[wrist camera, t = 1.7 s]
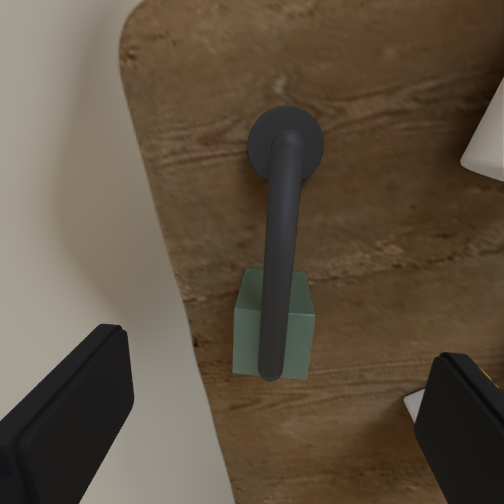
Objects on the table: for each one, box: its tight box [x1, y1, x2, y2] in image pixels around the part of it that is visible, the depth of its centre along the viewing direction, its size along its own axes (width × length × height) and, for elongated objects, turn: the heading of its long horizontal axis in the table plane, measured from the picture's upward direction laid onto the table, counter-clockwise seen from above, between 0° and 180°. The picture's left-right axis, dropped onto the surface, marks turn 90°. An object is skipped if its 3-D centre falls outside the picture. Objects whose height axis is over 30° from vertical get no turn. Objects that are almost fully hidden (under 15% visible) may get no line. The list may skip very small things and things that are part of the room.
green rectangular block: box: [232, 268, 315, 380], centre depth 22 cm, size 5×5×7 cm
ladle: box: [248, 106, 324, 382], centre depth 19 cm, size 16×5×8 cm, turn 177°
